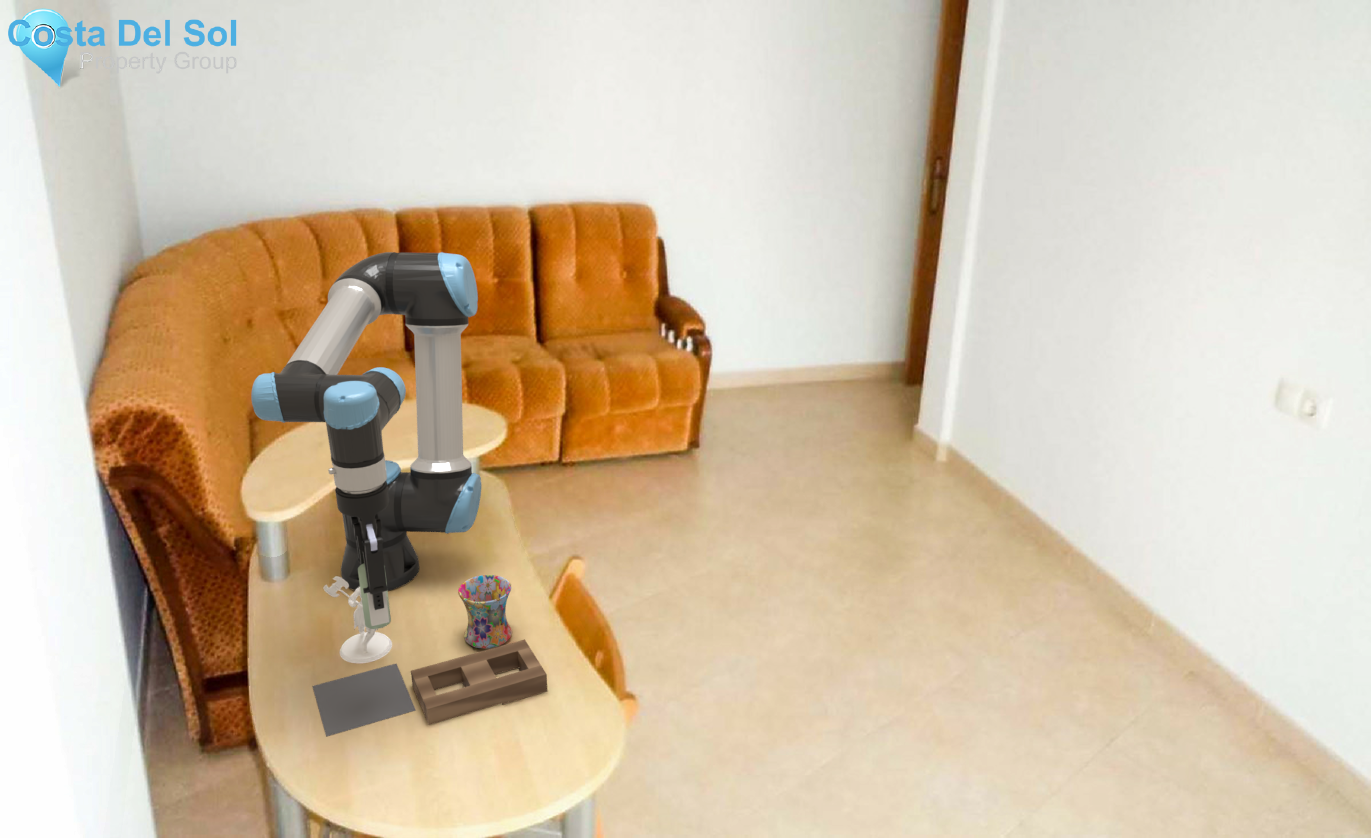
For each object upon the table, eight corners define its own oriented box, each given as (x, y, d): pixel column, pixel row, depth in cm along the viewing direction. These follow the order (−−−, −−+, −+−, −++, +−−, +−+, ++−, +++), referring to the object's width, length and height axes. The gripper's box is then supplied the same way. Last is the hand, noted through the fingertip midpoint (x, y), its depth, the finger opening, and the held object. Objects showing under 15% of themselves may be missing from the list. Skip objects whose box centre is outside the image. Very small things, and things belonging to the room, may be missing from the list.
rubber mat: (312, 688, 167) (312, 686, 167) (396, 665, 173) (396, 663, 173) (326, 738, 156) (326, 736, 155) (415, 712, 162) (415, 710, 161)
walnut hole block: (412, 687, 167) (410, 670, 166) (525, 655, 176) (524, 639, 175) (429, 726, 158) (427, 709, 157) (547, 691, 167) (546, 674, 166)
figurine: (334, 670, 172) (321, 580, 165) (337, 638, 180) (324, 552, 173) (393, 661, 174) (383, 573, 167) (393, 631, 182) (383, 545, 176)
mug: (516, 649, 178) (513, 598, 174) (464, 656, 176) (459, 605, 171) (510, 612, 188) (507, 564, 184) (460, 619, 186) (456, 570, 182)
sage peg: (363, 618, 159) (355, 564, 155) (388, 612, 161) (381, 558, 157) (367, 631, 156) (360, 576, 152) (393, 625, 158) (386, 571, 154)
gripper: (327, 466, 155) (345, 594, 164) (343, 512, 140) (362, 650, 149) (376, 457, 158) (391, 584, 167) (397, 502, 143) (412, 638, 152)
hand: (377, 615), depth 158 cm, fingers closed on sage peg, 4 cm apart
